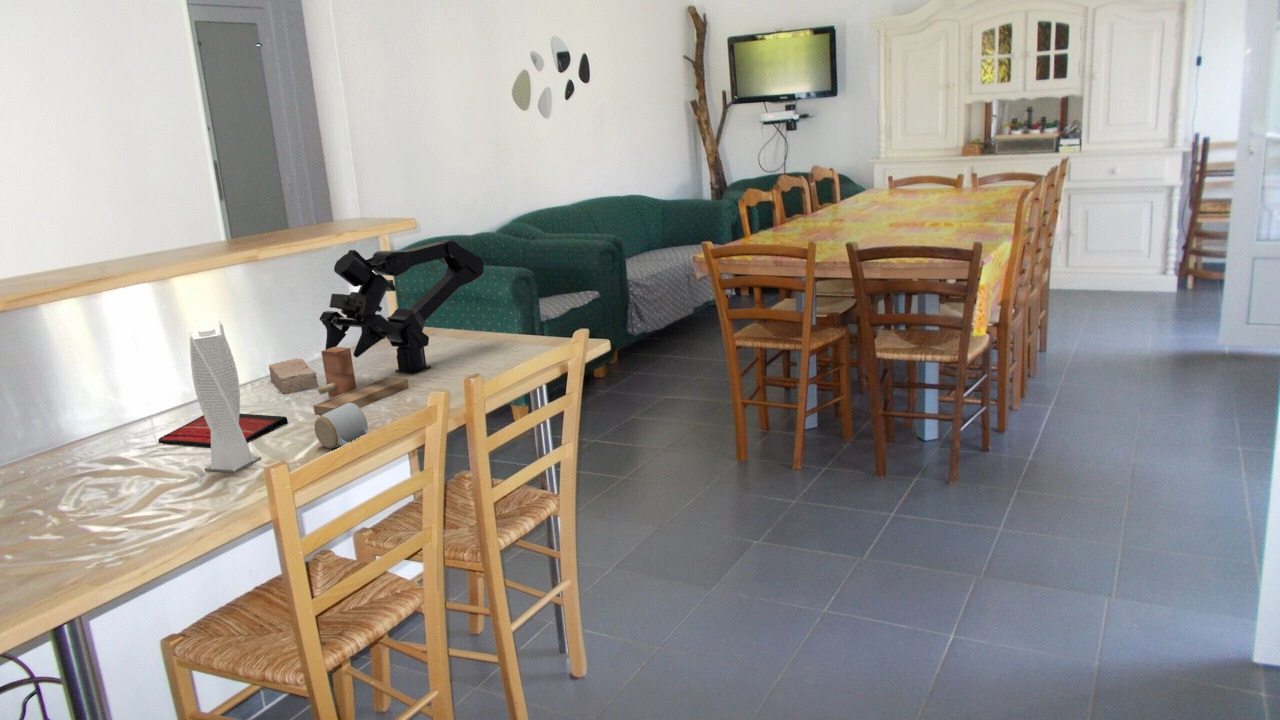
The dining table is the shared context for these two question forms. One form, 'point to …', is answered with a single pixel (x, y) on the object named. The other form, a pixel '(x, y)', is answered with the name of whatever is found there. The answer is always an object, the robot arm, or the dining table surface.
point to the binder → (201, 432)
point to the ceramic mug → (341, 425)
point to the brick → (293, 376)
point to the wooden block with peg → (338, 371)
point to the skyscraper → (219, 399)
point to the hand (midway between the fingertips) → (340, 355)
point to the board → (363, 394)
